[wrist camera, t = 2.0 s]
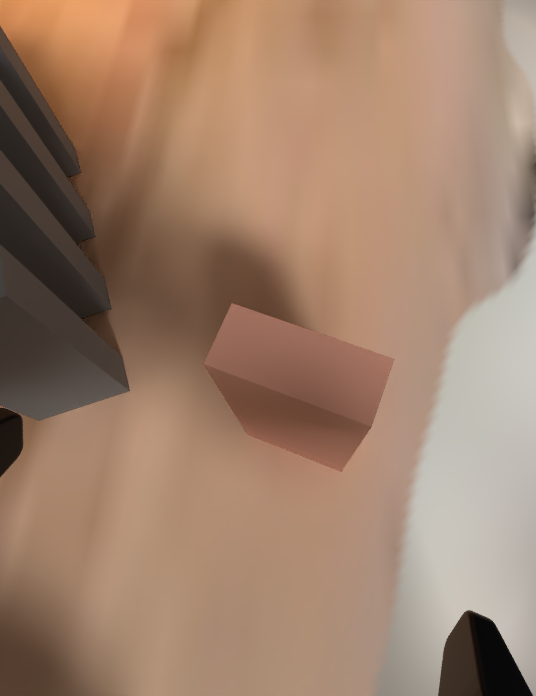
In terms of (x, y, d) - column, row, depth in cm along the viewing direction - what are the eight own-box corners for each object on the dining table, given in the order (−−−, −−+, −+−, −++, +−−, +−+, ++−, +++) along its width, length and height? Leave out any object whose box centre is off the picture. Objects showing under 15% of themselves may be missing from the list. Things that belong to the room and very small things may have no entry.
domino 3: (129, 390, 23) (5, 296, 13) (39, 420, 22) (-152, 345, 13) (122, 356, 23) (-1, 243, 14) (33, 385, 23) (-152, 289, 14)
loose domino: (341, 471, 21) (371, 426, 11) (247, 434, 22) (203, 363, 12) (354, 432, 21) (394, 359, 12) (262, 397, 22) (231, 302, 13)
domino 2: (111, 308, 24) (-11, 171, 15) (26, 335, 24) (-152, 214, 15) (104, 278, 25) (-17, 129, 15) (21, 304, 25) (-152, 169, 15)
